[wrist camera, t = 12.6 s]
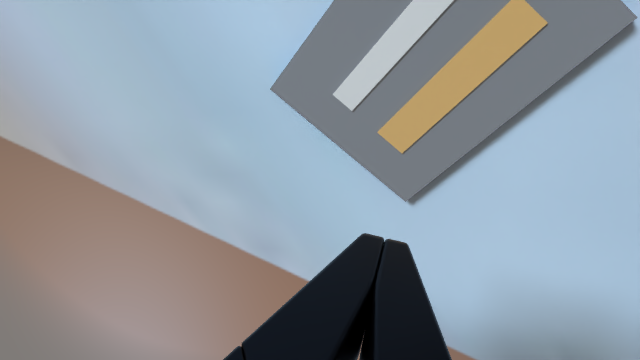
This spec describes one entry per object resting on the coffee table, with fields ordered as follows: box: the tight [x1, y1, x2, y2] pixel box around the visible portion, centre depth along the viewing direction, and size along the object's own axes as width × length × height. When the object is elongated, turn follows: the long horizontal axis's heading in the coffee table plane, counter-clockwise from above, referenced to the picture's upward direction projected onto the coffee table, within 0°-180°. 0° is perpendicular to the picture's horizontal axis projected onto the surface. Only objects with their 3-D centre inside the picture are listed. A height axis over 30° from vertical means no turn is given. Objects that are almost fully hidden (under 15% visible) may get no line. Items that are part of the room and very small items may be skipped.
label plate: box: [270, 0, 637, 202], centre depth 18 cm, size 12×9×1 cm
